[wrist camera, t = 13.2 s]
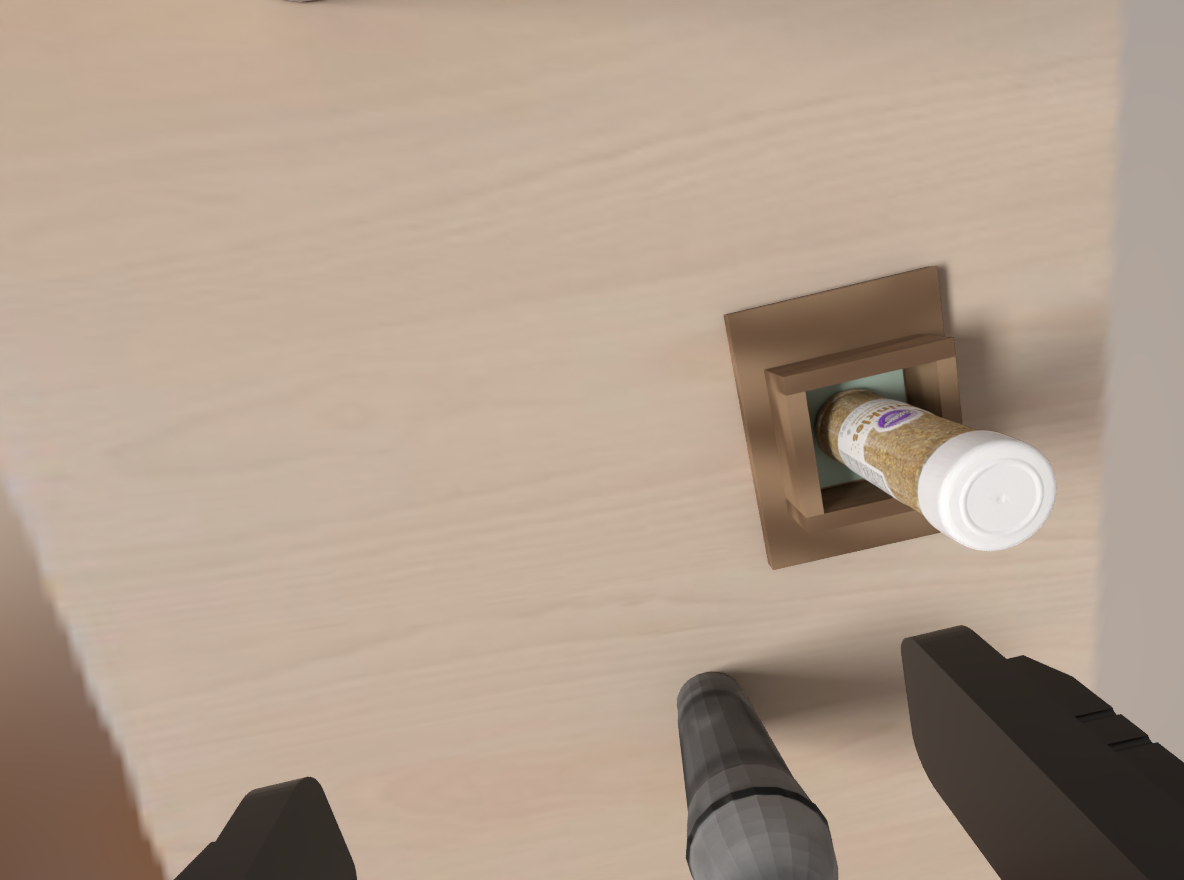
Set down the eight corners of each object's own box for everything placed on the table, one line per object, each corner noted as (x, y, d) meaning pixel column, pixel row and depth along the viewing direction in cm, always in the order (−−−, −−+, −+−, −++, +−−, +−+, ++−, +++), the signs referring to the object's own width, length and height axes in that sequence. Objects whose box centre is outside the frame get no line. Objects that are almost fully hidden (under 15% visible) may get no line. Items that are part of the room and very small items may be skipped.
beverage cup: (668, 645, 41) (753, 962, 21) (775, 662, 41) (952, 986, 22) (646, 740, 43) (706, 1115, 23) (749, 754, 43) (893, 1134, 24)
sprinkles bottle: (858, 371, 36) (1020, 415, 23) (904, 428, 37) (1085, 502, 24) (796, 423, 37) (919, 496, 23) (842, 478, 37) (986, 577, 24)
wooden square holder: (723, 315, 36) (743, 317, 32) (927, 266, 36) (976, 262, 31) (768, 563, 40) (792, 596, 35) (954, 521, 39) (1001, 549, 35)
